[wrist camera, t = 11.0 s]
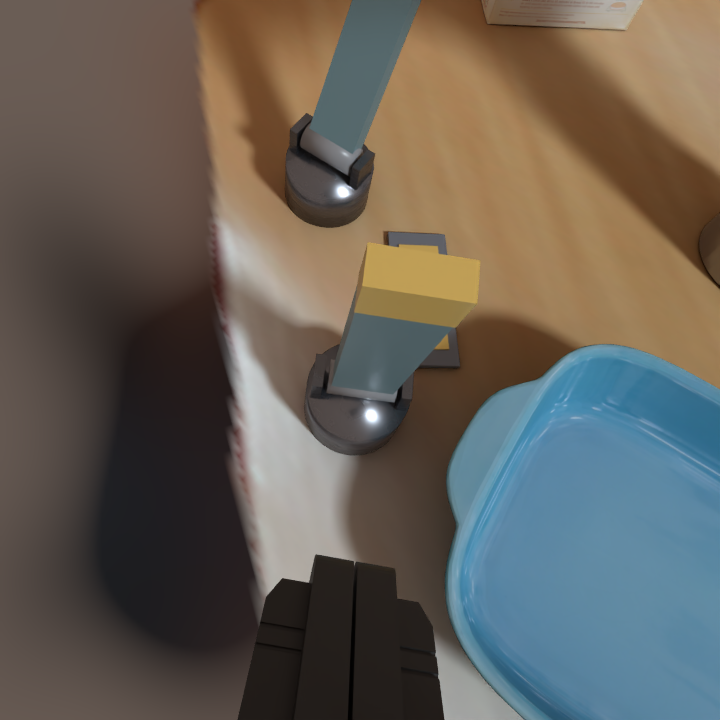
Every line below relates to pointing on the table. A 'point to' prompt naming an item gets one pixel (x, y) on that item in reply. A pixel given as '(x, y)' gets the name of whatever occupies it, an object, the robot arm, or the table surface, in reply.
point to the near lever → (399, 318)
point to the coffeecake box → (562, 13)
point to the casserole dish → (592, 540)
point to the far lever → (357, 79)
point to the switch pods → (330, 411)
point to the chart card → (448, 347)
